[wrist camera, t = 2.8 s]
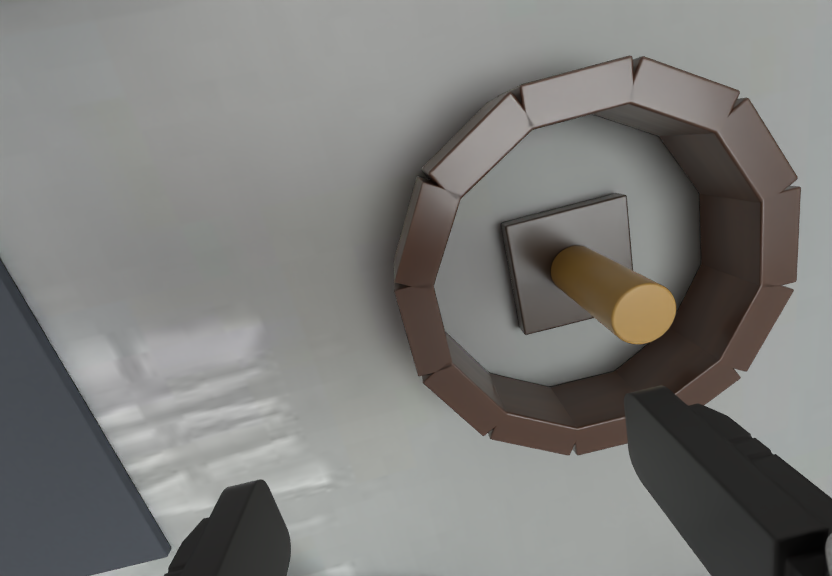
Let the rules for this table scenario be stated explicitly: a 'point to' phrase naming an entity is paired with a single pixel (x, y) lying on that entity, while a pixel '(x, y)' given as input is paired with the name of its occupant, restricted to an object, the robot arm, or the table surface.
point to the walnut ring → (707, 295)
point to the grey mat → (59, 466)
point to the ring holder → (583, 272)
